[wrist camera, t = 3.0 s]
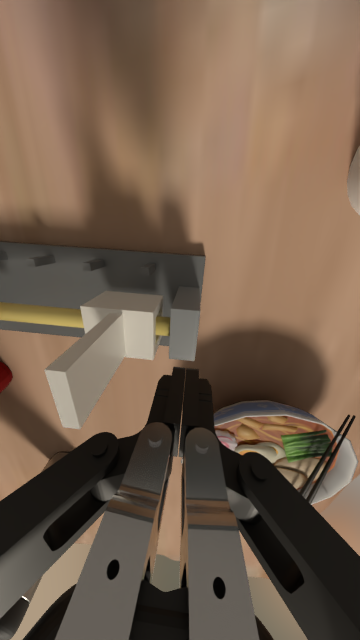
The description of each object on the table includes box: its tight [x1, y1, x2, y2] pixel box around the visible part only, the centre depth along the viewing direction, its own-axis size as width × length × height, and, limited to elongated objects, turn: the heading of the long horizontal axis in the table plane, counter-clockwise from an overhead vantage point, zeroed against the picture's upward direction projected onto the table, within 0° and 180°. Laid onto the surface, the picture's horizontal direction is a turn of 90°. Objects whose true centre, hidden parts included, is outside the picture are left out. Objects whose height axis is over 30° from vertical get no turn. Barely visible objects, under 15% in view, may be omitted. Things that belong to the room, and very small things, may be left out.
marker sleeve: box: [45, 291, 163, 429], centre depth 14 cm, size 6×5×12 cm
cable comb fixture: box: [0, 241, 205, 361], centre depth 20 cm, size 30×12×9 cm, turn 87°
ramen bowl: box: [181, 400, 358, 505], centre depth 28 cm, size 25×23×8 cm
